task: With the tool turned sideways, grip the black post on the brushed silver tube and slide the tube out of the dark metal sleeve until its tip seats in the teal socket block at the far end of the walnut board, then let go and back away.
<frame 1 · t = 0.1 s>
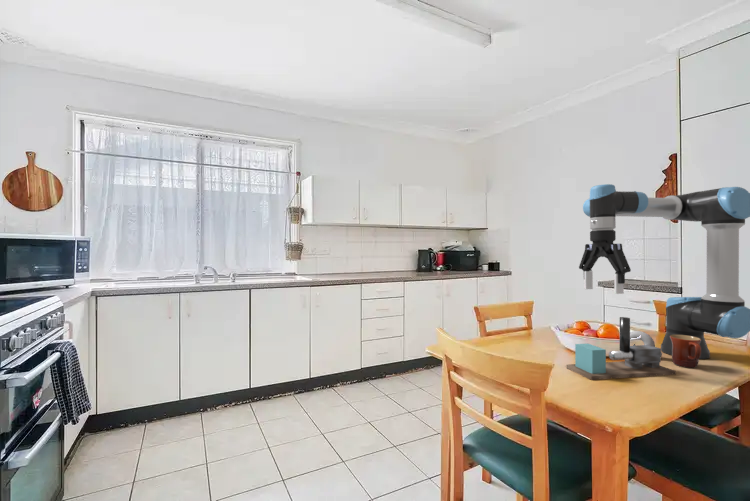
hand: (603, 291, 127), 28 cm above the table, tool pointing down, fingers open, 13 cm apart
grey curved piece: (639, 356, 144), on the table
slip tube: (635, 338, 128), point 11 cm above the table, slide at 0.0 cm
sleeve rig: (619, 371, 127), on the table
socket block: (590, 372, 125), resting on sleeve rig
mug: (687, 367, 132), on the table
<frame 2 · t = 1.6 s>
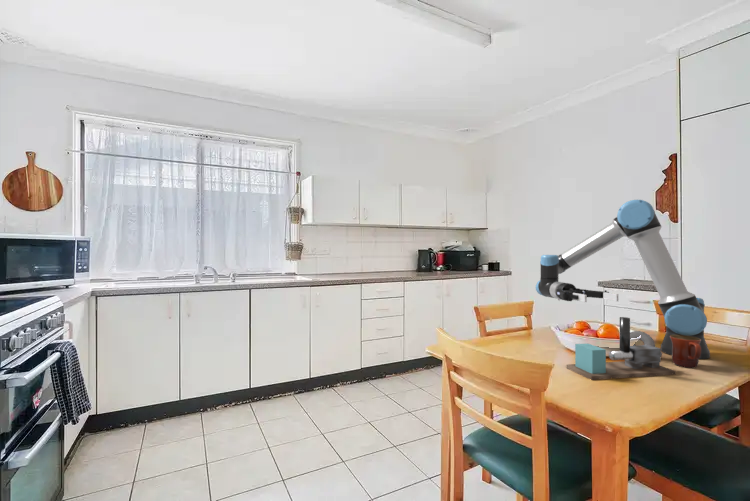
hand: (601, 298, 137), 24 cm above the table, tool horizontal, fingers open, 13 cm apart
nothing on the table moved.
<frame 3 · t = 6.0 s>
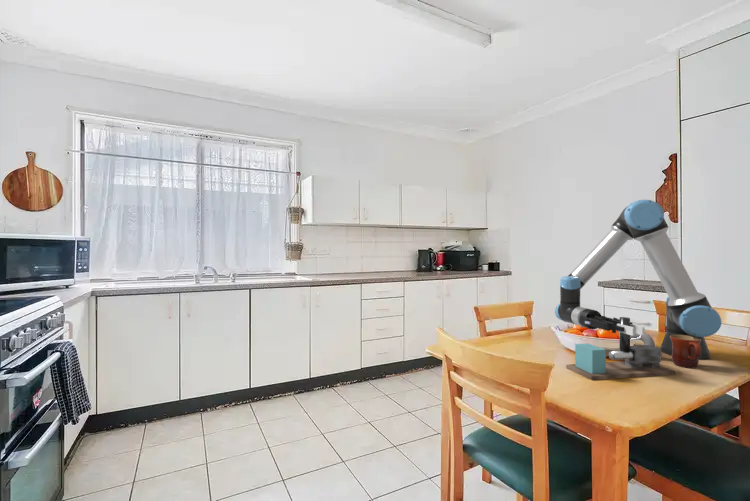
hand: (638, 331, 122), 15 cm above the table, tool horizontal, fingers closed on slip tube, 3 cm apart
slip tube: (635, 338, 128), point 11 cm above the table, slide at 0.0 cm, touching gripper
everything else where it was.
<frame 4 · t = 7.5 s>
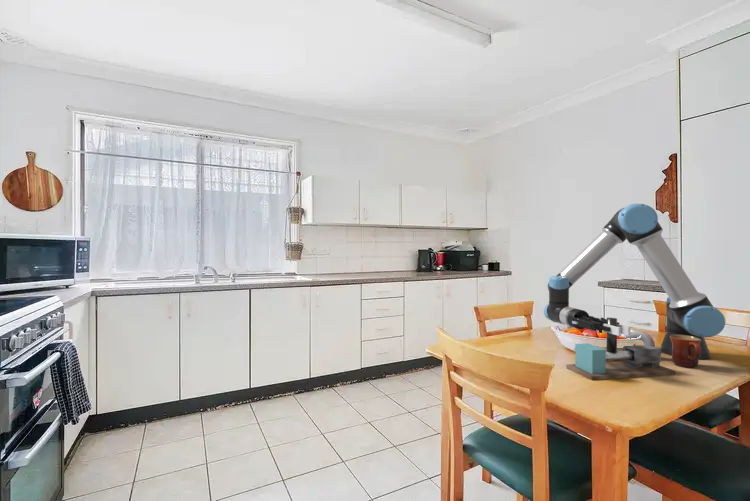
hand: (624, 331, 121), 15 cm above the table, tool horizontal, fingers closed on slip tube, 3 cm apart
slip tube: (622, 338, 127), point 11 cm above the table, slide at 5.2 cm, touching gripper
everything else where it was.
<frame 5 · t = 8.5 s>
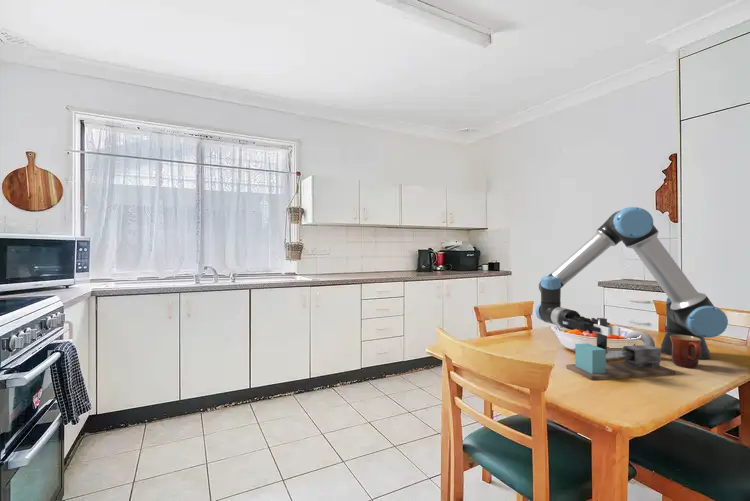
hand: (614, 332, 121), 15 cm above the table, tool horizontal, fingers closed on slip tube, 3 cm apart
slip tube: (612, 339, 126), point 11 cm above the table, slide at 9.0 cm, touching gripper
everything else where it was.
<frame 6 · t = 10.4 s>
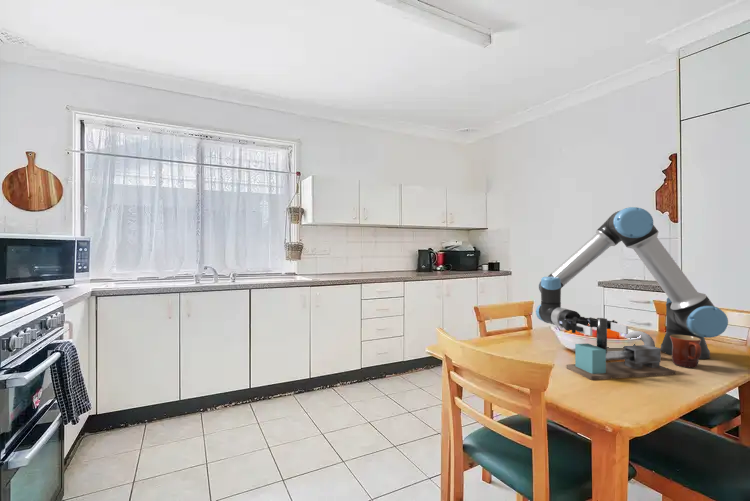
hand: (609, 331, 123), 15 cm above the table, tool horizontal, fingers open, 13 cm apart
slip tube: (612, 339, 126), point 11 cm above the table, slide at 9.0 cm
everything else where it was.
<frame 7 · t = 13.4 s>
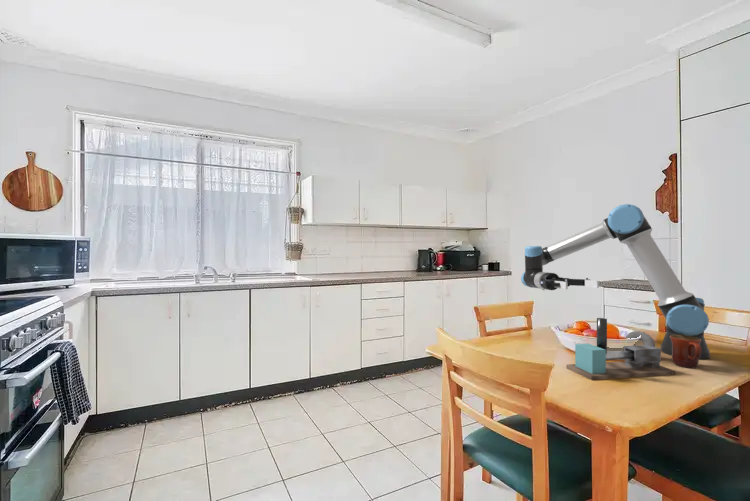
hand: (582, 284, 140), 29 cm above the table, tool horizontal, fingers open, 13 cm apart
nothing on the table moved.
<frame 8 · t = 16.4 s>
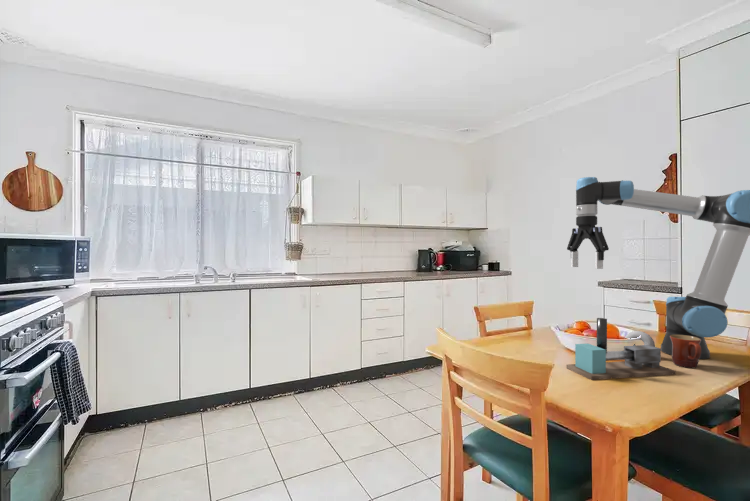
hand: (586, 267, 149), 35 cm above the table, tool pointing down, fingers open, 13 cm apart
nothing on the table moved.
at the end: slip tube slide at 9.0 cm; the gripper is holding nothing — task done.
